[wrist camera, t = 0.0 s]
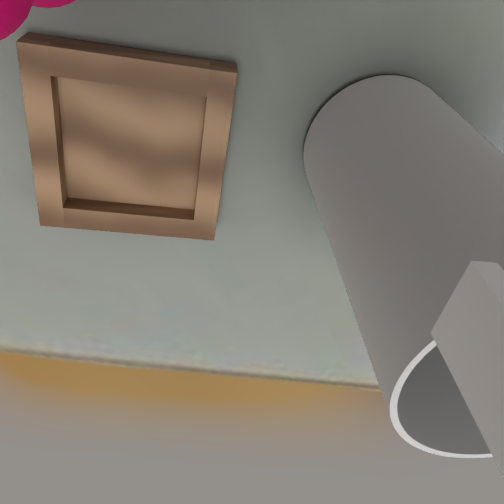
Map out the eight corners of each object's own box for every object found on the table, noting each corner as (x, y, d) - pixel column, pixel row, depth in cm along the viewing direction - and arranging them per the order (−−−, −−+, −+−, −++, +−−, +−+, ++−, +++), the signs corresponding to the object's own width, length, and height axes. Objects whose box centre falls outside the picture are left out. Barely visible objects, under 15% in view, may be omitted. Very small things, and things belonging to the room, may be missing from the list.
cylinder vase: (289, 95, 38) (380, 323, 18) (446, 53, 36) (727, 247, 17) (313, 219, 45) (396, 475, 25) (443, 188, 44) (635, 430, 24)
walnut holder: (27, 32, 33) (16, 41, 31) (235, 63, 36) (237, 73, 34) (47, 209, 42) (40, 225, 40) (213, 224, 45) (213, 240, 43)
